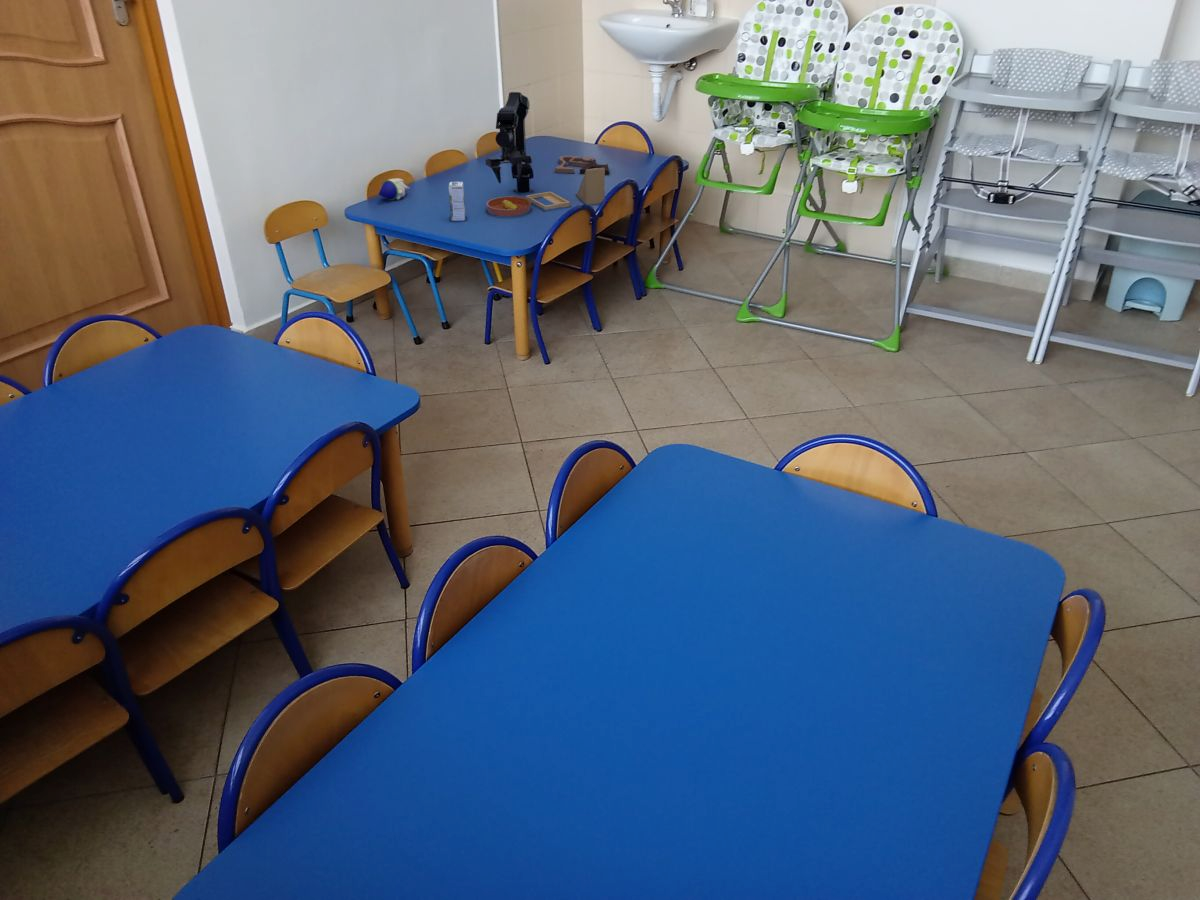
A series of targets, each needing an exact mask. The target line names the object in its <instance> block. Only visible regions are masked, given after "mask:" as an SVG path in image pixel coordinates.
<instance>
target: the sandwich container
mask: <svg viewBox="0 0 1200 900" xmlns="http://www.w3.org/2000/svg"><path fill="white" fill-rule="evenodd" d="M605 177H606V175H605V168H594V169H587V170H586V171H585V174H583V177H582V180H581V183H580V186H579V188H578V190H577V193H576V196H577V197H578V198H579V200H581V201H582V202H583V203H584V204H585V205H586V204H589V205H595V204H596V205H597V204H602V203H601V202H602V200H603V199H604V200H605V195H606V194H605V189H606V188H605V186H606V185H605V183H606V178H605Z"/></svg>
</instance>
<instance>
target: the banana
mask: <svg viewBox="0 0 1200 900" xmlns="http://www.w3.org/2000/svg"><path fill="white" fill-rule="evenodd" d="M503 205H504V207H505V208H507V209H517V208H518V207H517V206H516V205H514V204H513V203H512V202H510V201H508V200H504V201H503Z"/></svg>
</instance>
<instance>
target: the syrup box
mask: <svg viewBox="0 0 1200 900" xmlns="http://www.w3.org/2000/svg"><path fill="white" fill-rule="evenodd" d="M448 197H449V209H450V211H449V212H450V221H451V222H458V221H459V222H460V221H461V222H463V221H466V199H465V188H464V181H450V182H449V183H448Z"/></svg>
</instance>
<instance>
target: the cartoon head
mask: <svg viewBox="0 0 1200 900" xmlns="http://www.w3.org/2000/svg"><path fill="white" fill-rule="evenodd" d="M404 182H405V180H404V179H402V178H399V177H397V178H395V177H394V178H389V179H387V180H384V181H383V182H382V184H381V187H380V189H379V192H378V196H381V197H383V198H385V199H387V200H388V201H394V200H398V201H399V200H401V198H403V197H405V196H406V192H407V191H408V190H410V189H411V187H410V186H409V185H406V184H405V183H404Z"/></svg>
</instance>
